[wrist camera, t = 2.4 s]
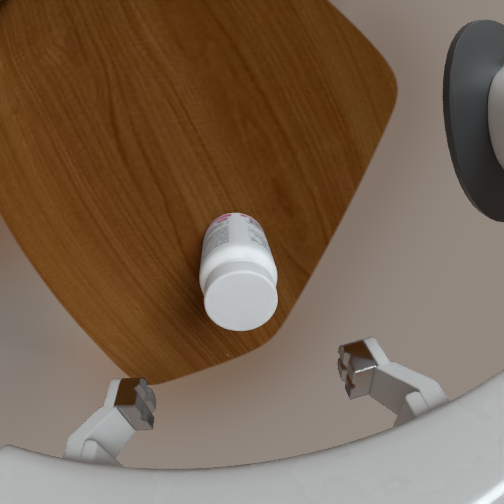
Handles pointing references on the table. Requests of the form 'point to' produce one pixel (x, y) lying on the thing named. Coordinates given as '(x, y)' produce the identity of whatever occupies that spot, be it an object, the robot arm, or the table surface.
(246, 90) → the table surface
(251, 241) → the pill bottle
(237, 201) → the table surface
